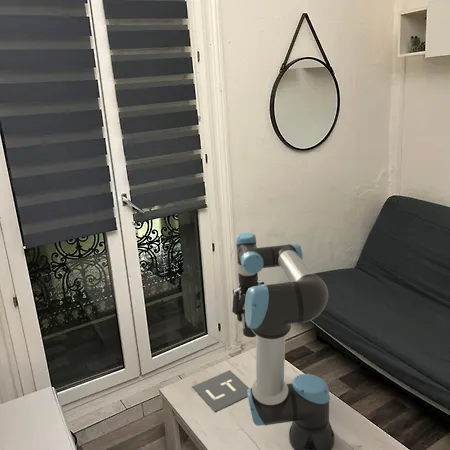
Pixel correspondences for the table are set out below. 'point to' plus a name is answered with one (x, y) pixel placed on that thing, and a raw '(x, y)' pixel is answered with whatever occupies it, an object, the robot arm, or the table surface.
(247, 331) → the coffee cup
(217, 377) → the mat
